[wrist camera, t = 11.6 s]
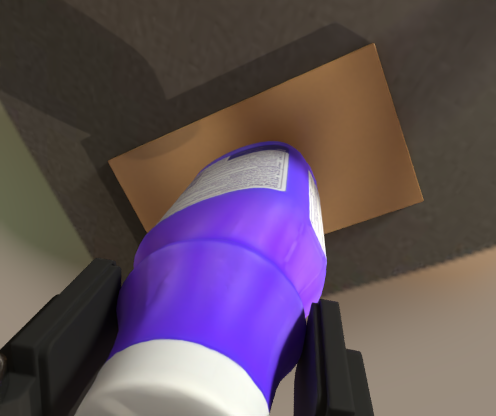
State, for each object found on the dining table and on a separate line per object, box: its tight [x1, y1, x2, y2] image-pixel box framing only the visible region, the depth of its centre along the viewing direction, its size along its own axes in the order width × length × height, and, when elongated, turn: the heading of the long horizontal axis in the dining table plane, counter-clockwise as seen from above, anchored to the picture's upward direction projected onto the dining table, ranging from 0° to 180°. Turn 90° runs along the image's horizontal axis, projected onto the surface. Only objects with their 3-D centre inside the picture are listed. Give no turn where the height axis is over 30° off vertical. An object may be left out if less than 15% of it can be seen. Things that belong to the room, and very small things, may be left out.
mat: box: [108, 43, 423, 234], centre depth 26 cm, size 18×10×1 cm, turn 114°
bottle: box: [75, 141, 327, 416], centre depth 16 cm, size 7×6×17 cm
